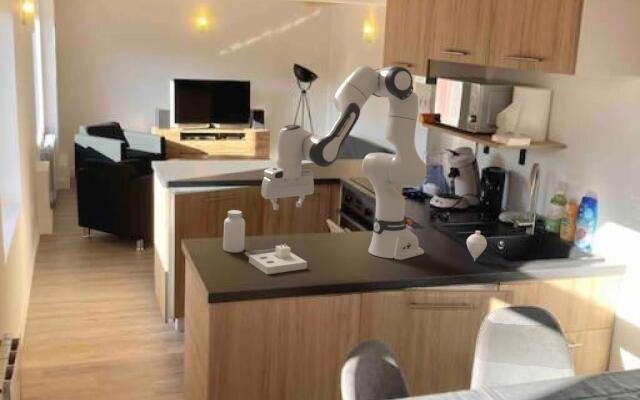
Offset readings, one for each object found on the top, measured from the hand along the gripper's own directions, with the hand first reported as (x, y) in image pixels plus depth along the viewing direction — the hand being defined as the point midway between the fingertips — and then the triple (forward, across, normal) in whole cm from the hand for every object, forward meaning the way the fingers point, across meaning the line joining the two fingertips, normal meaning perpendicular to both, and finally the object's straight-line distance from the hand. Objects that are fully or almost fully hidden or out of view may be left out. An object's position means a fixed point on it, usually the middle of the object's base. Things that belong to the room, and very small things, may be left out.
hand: (287, 208), depth 244 cm
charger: (+20, +2, +2) cm, 20 cm away
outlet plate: (+20, +6, +4) cm, 21 cm away
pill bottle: (+20, +12, -18) cm, 30 cm away
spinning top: (+21, -68, +29) cm, 77 cm away
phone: (+20, +4, -8) cm, 22 cm away
